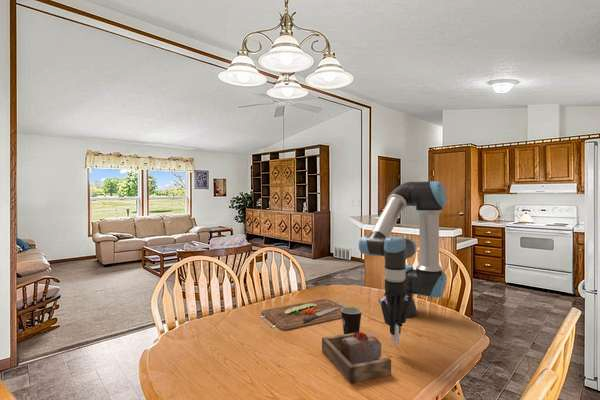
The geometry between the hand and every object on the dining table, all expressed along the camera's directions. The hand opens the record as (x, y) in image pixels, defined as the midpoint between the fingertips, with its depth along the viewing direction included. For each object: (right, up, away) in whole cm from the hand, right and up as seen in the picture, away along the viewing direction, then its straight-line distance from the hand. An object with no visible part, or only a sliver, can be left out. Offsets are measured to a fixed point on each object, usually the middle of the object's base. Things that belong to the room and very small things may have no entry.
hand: (395, 342), depth 125 cm
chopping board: (-31, -4, +42) cm, 53 cm away
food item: (-13, -5, -4) cm, 15 cm away
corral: (-16, -5, -6) cm, 18 cm away
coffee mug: (-13, -4, +20) cm, 24 cm away
